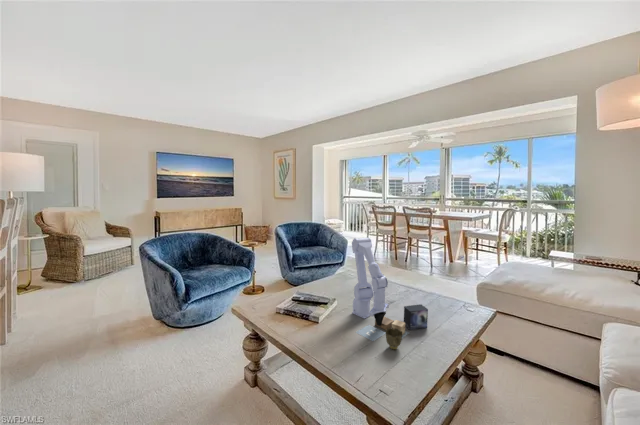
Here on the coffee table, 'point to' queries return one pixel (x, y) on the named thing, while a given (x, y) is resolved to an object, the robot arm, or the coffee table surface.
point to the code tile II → (405, 334)
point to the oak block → (399, 326)
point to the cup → (393, 338)
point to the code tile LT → (370, 332)
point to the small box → (415, 317)
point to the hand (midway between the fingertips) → (378, 324)
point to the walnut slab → (385, 323)
